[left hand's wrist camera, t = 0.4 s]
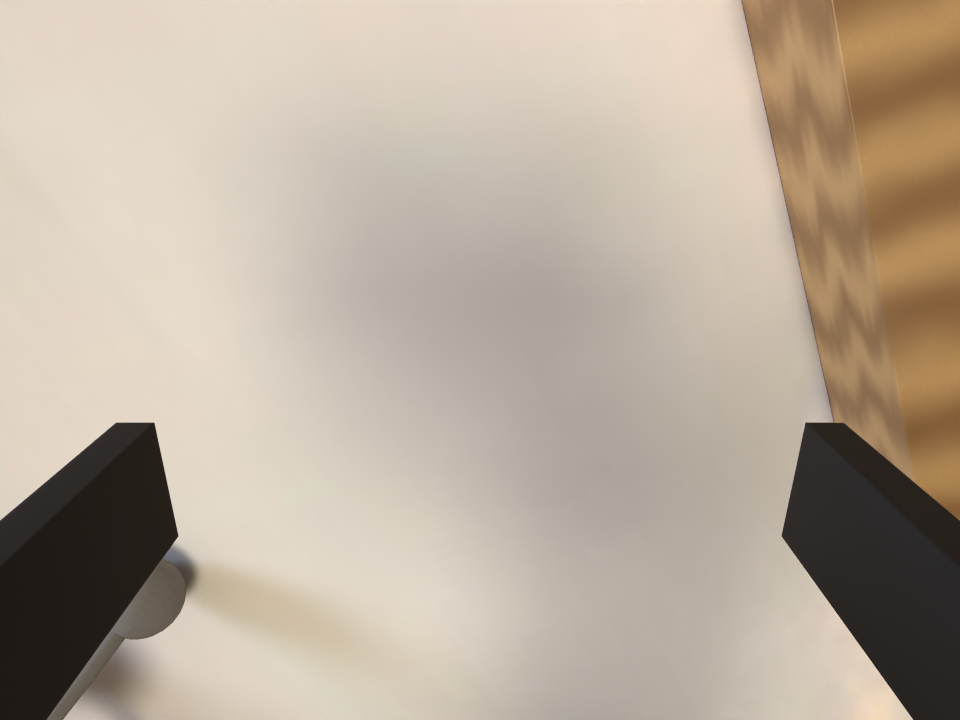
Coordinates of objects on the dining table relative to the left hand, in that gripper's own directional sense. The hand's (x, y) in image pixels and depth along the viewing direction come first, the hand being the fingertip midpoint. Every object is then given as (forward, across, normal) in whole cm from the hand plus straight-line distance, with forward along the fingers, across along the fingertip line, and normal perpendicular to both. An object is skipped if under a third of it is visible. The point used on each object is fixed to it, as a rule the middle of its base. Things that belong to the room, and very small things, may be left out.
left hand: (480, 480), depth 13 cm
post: (+27, -21, -2) cm, 34 cm away
